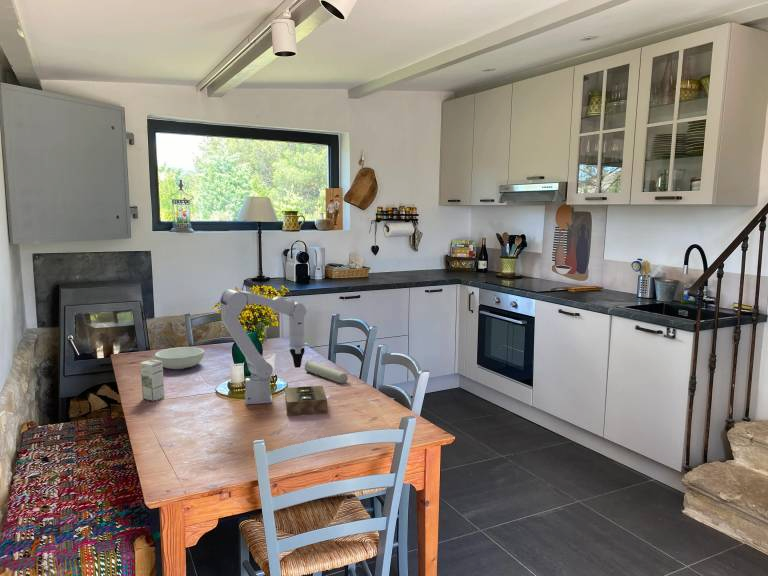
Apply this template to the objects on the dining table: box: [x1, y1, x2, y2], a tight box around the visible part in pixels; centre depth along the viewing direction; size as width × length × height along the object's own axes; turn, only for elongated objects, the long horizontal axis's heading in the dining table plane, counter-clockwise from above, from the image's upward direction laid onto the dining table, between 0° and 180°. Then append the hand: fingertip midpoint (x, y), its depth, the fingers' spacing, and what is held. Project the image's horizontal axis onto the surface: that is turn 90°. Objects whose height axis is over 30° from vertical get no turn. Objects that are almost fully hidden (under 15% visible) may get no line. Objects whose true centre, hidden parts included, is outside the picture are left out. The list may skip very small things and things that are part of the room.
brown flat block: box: [284, 385, 328, 417], centre depth 211 cm, size 14×16×5 cm
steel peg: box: [301, 395, 312, 399], centre depth 207 cm, size 4×4×5 cm
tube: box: [304, 359, 349, 384], centre depth 247 cm, size 5×5×25 cm
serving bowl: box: [154, 346, 205, 370], centre depth 262 cm, size 21×21×7 cm
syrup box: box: [139, 358, 165, 402], centre depth 219 cm, size 6×6×14 cm
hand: (297, 367), depth 225 cm, fingers closed
